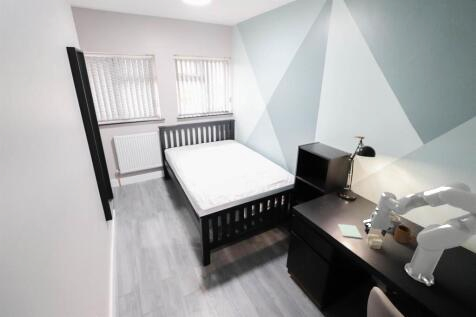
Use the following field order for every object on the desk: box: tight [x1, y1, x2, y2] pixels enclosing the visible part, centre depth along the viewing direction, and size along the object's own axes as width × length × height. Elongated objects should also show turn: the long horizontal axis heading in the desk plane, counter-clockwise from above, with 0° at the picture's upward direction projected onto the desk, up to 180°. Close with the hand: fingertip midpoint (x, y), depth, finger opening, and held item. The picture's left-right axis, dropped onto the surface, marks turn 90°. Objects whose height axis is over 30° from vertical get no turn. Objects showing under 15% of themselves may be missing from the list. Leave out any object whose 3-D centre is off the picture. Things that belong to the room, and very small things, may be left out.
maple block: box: [365, 233, 383, 250], centre depth 138 cm, size 6×6×6 cm
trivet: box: [337, 223, 363, 239], centre depth 151 cm, size 12×12×1 cm
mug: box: [393, 224, 417, 245], centre depth 140 cm, size 12×8×9 cm, turn 18°
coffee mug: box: [387, 212, 406, 234], centre depth 152 cm, size 13×10×10 cm
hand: (374, 233), depth 137 cm, fingers open, 9 cm apart
